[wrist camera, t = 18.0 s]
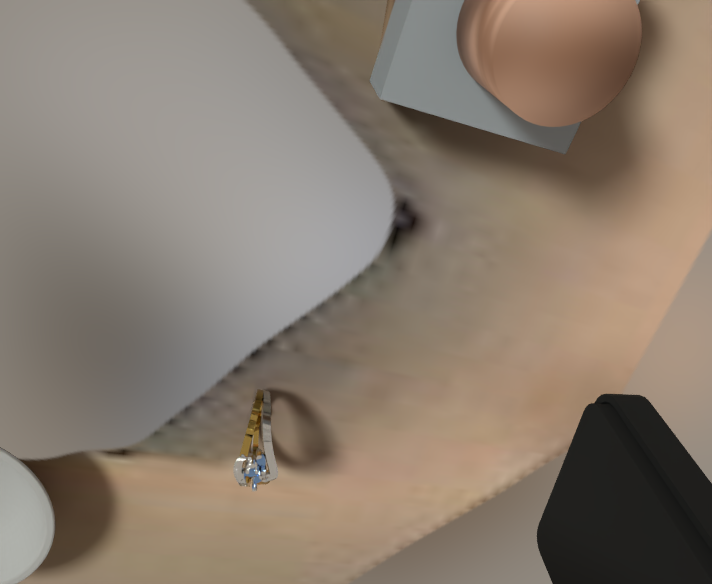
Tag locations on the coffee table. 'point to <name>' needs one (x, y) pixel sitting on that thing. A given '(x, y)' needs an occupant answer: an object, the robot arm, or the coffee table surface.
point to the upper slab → (447, 76)
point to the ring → (250, 450)
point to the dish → (22, 520)
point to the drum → (550, 54)
